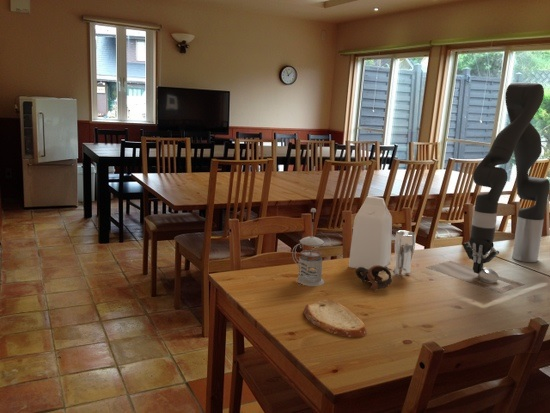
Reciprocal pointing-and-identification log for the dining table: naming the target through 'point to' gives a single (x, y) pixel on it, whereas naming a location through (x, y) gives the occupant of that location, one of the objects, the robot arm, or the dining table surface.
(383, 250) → the milk
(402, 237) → the beer glass
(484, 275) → the glossy grey dome
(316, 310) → the bread slice
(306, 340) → the dining table surface
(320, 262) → the french press
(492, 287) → the grey flat slab
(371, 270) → the dark brown twisted loop
